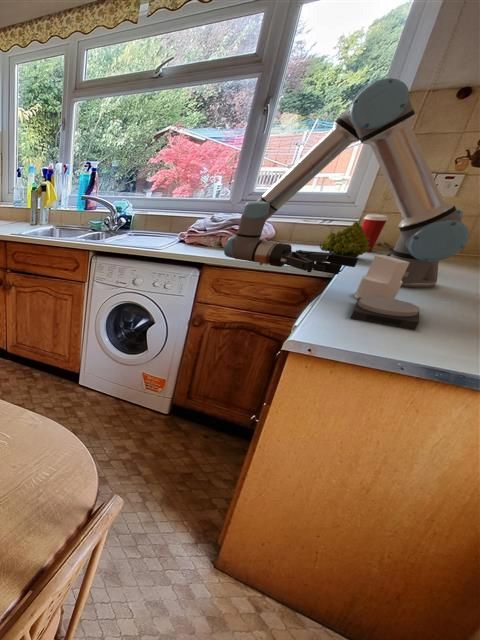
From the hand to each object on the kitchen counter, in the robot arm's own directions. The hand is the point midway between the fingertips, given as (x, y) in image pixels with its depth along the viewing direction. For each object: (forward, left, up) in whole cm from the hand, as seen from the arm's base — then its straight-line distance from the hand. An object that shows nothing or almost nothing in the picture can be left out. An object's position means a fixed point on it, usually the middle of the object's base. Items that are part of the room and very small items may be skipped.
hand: (348, 266), depth 133 cm
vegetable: (-55, -4, -8) cm, 56 cm away
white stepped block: (+2, +9, -8) cm, 12 cm away
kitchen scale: (+19, +12, -8) cm, 24 cm away
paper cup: (-75, +1, -8) cm, 76 cm away
